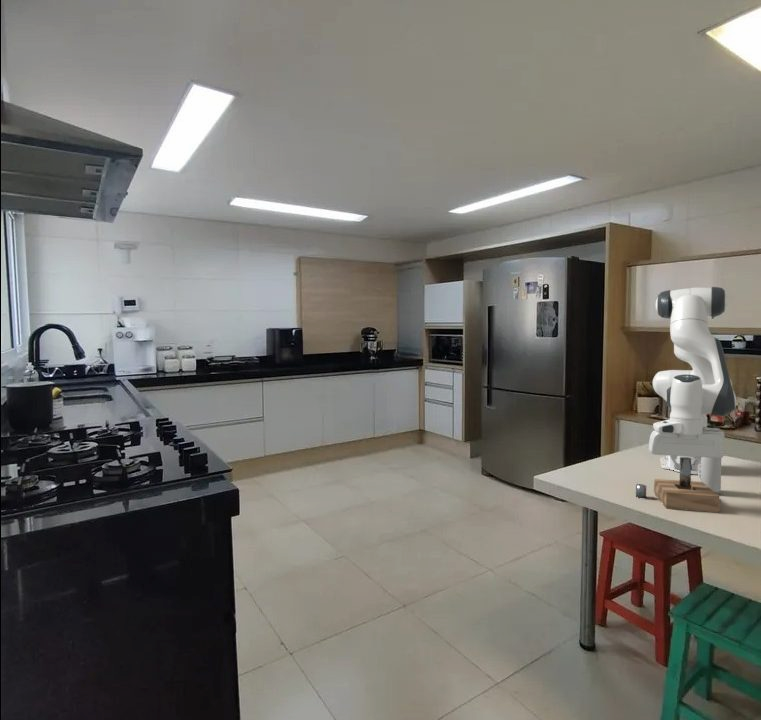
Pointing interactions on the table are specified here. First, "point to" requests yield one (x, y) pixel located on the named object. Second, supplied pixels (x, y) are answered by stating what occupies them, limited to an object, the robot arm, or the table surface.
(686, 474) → the tall pin
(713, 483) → the travel mug
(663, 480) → the hole block
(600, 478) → the table surface
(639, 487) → the short pin
